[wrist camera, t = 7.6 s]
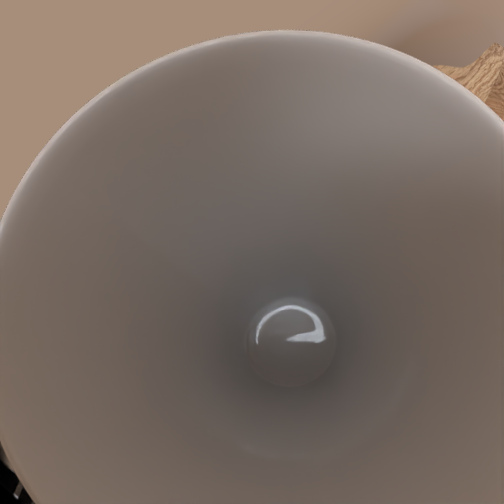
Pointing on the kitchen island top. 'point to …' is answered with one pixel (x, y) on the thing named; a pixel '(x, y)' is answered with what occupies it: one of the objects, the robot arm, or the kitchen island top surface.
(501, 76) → the kitchen island top surface
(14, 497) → the robot arm
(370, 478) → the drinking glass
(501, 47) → the kitchen island top surface
